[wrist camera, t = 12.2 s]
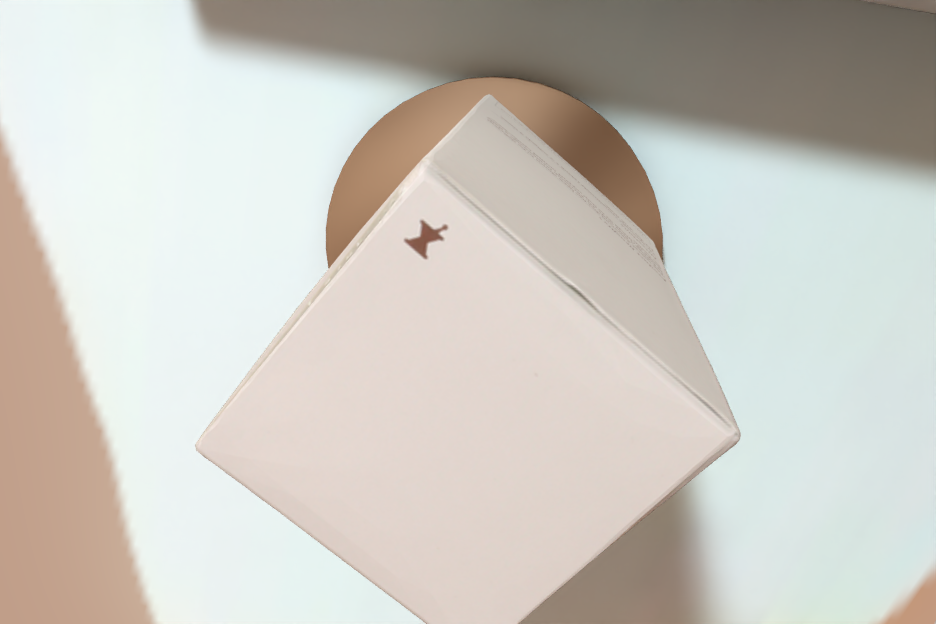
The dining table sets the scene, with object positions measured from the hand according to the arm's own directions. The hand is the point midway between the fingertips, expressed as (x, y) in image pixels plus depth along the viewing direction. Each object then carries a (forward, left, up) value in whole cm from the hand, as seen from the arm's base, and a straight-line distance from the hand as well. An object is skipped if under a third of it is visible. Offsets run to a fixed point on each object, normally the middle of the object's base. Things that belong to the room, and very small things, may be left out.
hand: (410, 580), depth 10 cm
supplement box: (0, 0, -17) cm, 17 cm away
